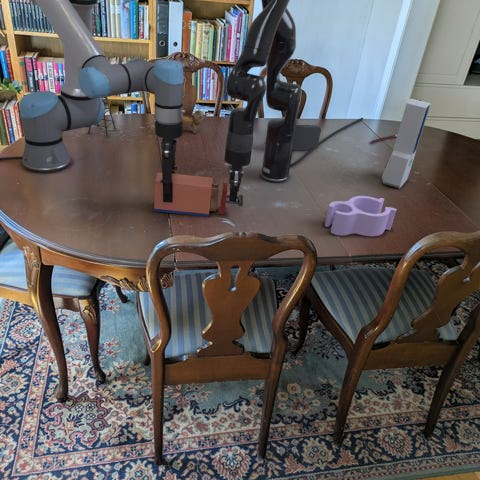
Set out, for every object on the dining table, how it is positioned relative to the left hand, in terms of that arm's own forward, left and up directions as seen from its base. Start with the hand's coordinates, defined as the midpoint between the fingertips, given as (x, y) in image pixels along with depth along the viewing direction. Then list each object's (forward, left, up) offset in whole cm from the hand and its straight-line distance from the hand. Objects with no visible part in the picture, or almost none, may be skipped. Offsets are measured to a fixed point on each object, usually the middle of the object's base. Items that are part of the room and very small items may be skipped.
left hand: (168, 195), depth 139 cm
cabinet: (+4, +1, -4) cm, 6 cm away
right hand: (+19, +3, 0) cm, 19 cm away
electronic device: (+75, +43, -4) cm, 87 cm away
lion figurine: (-9, +66, -4) cm, 67 cm away
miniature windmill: (-41, +53, -4) cm, 68 cm away
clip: (+57, +5, -4) cm, 58 cm away
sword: (+81, +91, -4) cm, 122 cm away
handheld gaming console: (+36, +61, -4) cm, 71 cm away
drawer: (+12, +2, -3) cm, 12 cm away
